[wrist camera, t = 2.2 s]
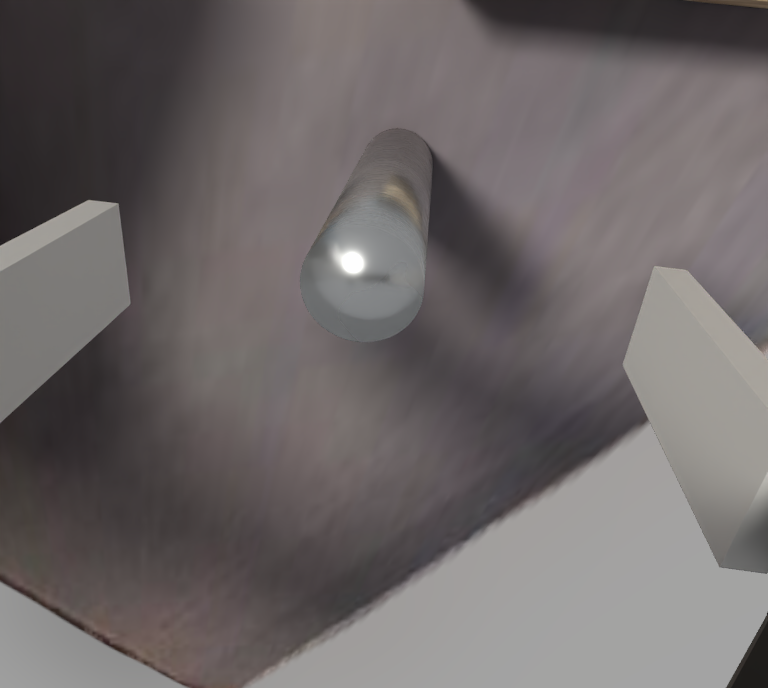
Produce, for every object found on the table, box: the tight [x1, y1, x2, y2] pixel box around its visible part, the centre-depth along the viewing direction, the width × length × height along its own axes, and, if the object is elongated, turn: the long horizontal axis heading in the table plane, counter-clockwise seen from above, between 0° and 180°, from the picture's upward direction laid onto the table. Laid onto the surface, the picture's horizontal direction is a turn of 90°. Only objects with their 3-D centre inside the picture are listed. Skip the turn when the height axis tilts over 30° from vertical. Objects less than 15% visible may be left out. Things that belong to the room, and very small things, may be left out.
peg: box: [300, 128, 433, 342], centre depth 20 cm, size 3×3×13 cm
